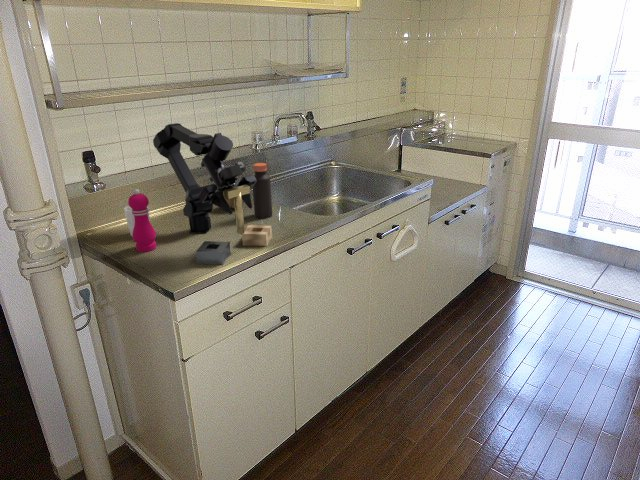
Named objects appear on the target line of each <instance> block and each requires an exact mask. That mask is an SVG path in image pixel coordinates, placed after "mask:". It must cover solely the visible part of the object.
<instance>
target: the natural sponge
mask: <svg viewBox="0 0 640 480" xmlns="http://www.w3.org/2000/svg"><path fill="white" fill-rule="evenodd" d="M223 195H224V192H223ZM224 198H225V197H224ZM225 200H226V201H227V203H228V205H229V206H230V208H232V209H234V210H235V205H234V198H230V199H228V198H225ZM243 204H245V202H244V201H243V200H242V205H243Z"/></svg>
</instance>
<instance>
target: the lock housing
mask: <svg viewBox="0 0 640 480" xmlns="http://www.w3.org/2000/svg"><path fill="white" fill-rule="evenodd" d="M231 253H232V252H231V244H230V241H217V240H216V241H210V240H205V241H204V242H202V244H201V245H199V247H198V248H197V249H196V250H195V256H196V257H195V258H196V264H199V265H200V264H201V265H204V264H205V265H224V263H225V262H226V261H227V259H228V258H229V257H230V255H231Z"/></svg>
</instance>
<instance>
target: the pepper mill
mask: <svg viewBox="0 0 640 480" xmlns="http://www.w3.org/2000/svg"><path fill="white" fill-rule="evenodd" d="M149 203H150V201H149V198H148V196H146V195H145V194H143V193H141V191H140V189H137V188H136V189H134V190H133V194H131V195H130V196H129V198H128V202H127V205H128V206H130V207H131V208H132V210H131V211H132V215H134V218H135V225H134V229H133V234H132V236H133V237H132V236H131V237H132V240H133V241H134V242H135V243H136V244H135V249H136V251H137V252H140V253H146V252H151V251H154V250H155V249H157V242H156V241H155V240H156V237H157V232H156V230H155V227H154V226H153V225H152V223H151V220H150V221H149V219H148V212H149V213H150V211H148V209H149ZM147 206H148V208H147Z"/></svg>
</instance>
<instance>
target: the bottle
mask: <svg viewBox="0 0 640 480" xmlns="http://www.w3.org/2000/svg"><path fill="white" fill-rule="evenodd" d="M253 172H254V174H253V175H254V176H255V178H256V180H257V182H256V183H255V185H254V186H253V187H252V196H253V197H252V199H253V211H254V217H255V218H258V219H267V218H270V217H272V216H273V201H272V185H271V184H272V183H271V177H270V176H269V174H267V172H268V164H267V163H265V162H259V163H254V164H253Z"/></svg>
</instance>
